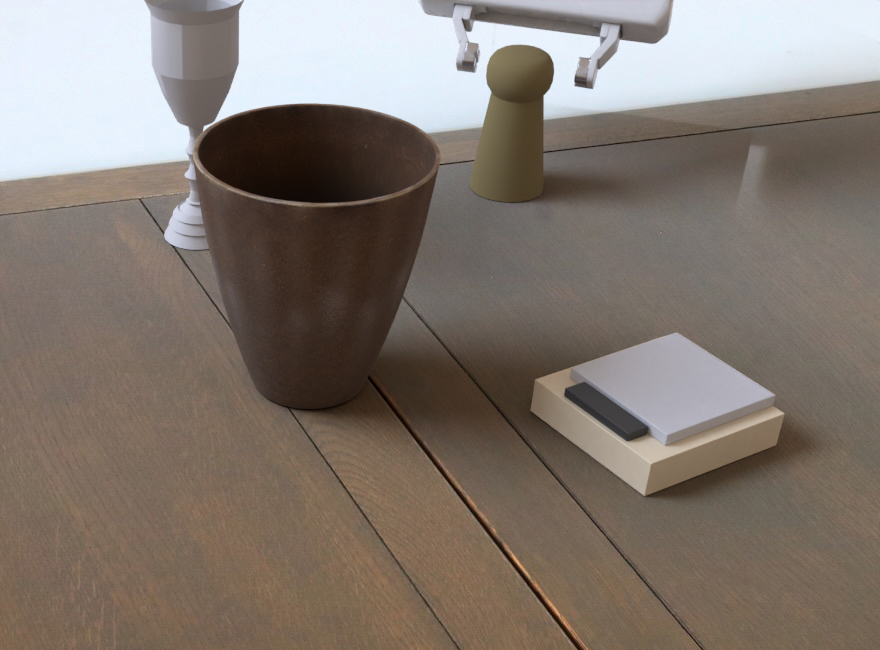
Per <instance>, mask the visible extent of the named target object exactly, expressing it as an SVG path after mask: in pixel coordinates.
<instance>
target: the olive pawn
mask: <svg viewBox="0 0 880 650" xmlns="http://www.w3.org/2000/svg"><path fill="white" fill-rule="evenodd" d="M554 63H555V62H554V61H553V59H552V57H551V55H550V53H548V52H547V51H546V50H544V49H542V48H541V47H537V46H534V45H529V44H510V45H505V46H503V47H500V48H498V49H496V50H495V51H494V52H493V53H492V55H491V56H490V57H489V59H488V62H487V65H486V73H485V79H486V85H487V87H488V88H489V91H490V96H489V100H488V104H487V109H486V112H485V116H484V120H483V124H482V130H481V131H480V137H479V139H478V140H479V141H478V144H477V149H476V152H475V156H474V161H473V165H472V168H471V174H470V178H469V182H468V187H469V189H470V190H471V191H472V192H473V193H474V194H476V195H477V196H479V197H481V198H484V199H486V200H491V201H496V202H501V203H522V202H526V201H531V200H534V199H536V198H538V197H539V196H541V194H542V193H543V192H544V146H545V145H544V144H545V143H544V141H545V140H544V139H545V138H544V133H545V132H544V129H545V128H544V123H545V121H544V120H545V118H544V109H545V108H544V98H545V95H546V94H547V93H548V92H549V90H551V87H552V84H553V82H554V75H555V64H554Z"/></svg>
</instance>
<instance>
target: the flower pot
mask: <svg viewBox="0 0 880 650" xmlns="http://www.w3.org/2000/svg"><path fill="white" fill-rule="evenodd" d="M192 153H193V161H194V168H195V175H196V182H197V189H198V195H199V201H200V207H201V213H202V219H203V224H204V229H205V233H206V238H207V243H208V247H209V249H208V251H209V255H210V259H211V264H212V268H213V271H214V275H215V279H216V282H217V285H218V290H219V293H220V296H221V300H222V304H223V307H224V310H225V313H226V316H227V318H228V319H227V320H228V322H229V324H230V329H231V330H232V334H233V336H234V339H235V342H236V344H237V347H238V349H239V352H240V355H241V357H242V360H243V362H244V365H245V368H246V369H247V371H248V372H247V373H248V374H249V376H250V378H251V381H252V383H253V384H254V387H255V389H256V391H258V392H259V394H260V395H262V396H263V397H265V398H266V399H267V400H269V401H271V402H273V403H276V404H279V405H281V406H284V407H289V408H295V409H302V410H303V409H305V410H316V409H317V410H318V409H319V410H321V409H326V408H332V407H334V406H339V405H342V404H344V403H346V402H349V401H350V400H352V399H354V398H355V397H356V396H357V395H358V394H360V392H361V391H362V389H363V387H364V385H365V383H366V382H367V381H368V378H369V376H370V374H371V372H372V370H373V367H374V366H375V364H376V361H377V359H378V357H379V355H380V354H381V351H382V349H383V346H384V344H385V342H386V340H387V337H388V335H389V333H390V330H391V328H392V327H393V326H392V325H393V323H394V321H395V318H396V316H397V313H398V311H399V308H400V305H401V303H402V299H403V297H404V294H405V292H406V289H407V286H408V283H409V280H410V277H411V274H412V271H413V268H414V265H415V262H416V259H417V257H418V252H419V249H420V245H421V242H422V238H423V235H424V231H425V227H426V224H427V220H428V216H429V211H430V208H431V203H432V199H433V193H434V191H435V190H434V189H435V185H436V181H437V177H438V172H439V168H440V164H441V151H440V149H439V146H438V144H437V143H436V142H435V140H434V138H433V137H431V136H430V135H429V134H428V133H427V132H426V131H424V130H423V129H421V128H420V127H418V126H416V125H414V124H413V123H411V122H409V121H407V120H404V119H402V118H399V117H397V116H394V115H392V114H388V113H385V112H381V111H377V110H373V109H369V108H364V107H358V106H352V105H345V104H335V103H318V102H317V103H315V102H314V103H312V102H311V103H287V104H285V103H284V104H277V105H269V106H262V107H258V108H253V109H252V108H251V109H248V110H244V111H241V112H237V113H234V114H231V115H229V116H227V117H225V118H222V119H220V120H218V121H216V122H215V123H214V122H213V123H212V124H210V125H209V126H208V127H207V128H206V129H203V132H202V133H201V134H200V136H199V137H198V138H197V140H196V141H195V144H194V146H193V150H192Z"/></svg>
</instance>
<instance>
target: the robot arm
mask: <svg viewBox="0 0 880 650" xmlns="http://www.w3.org/2000/svg"><path fill="white" fill-rule="evenodd" d="M674 1H675V0H417V2H418V3H419V5H420V7H421V9H422V11H423V12H424V14H426V15H427V16H434V17H441V18H447V19H448V18H449V19H452V24H453V29H454V33H455V36H456V39H457V42H458V45H459V47H458V51H457V55H456V59H455V61H456V62H455V66H456V67H455V68H456V70H457V71H458V72H465V73H472V74H473V73H477V69H478V63H479V61H480V57H481V49H480V45H479V43H477V42H471V41H469V37H468V35H467V33H471V32H473V28H474V23H475V22H479V23H487V24H495V25H504V26H511V27H519V28H526V29H532V30H533V29H534V30H541V31H548V32H557V33H564V34H572V35H581V36H589V37H594V38H595V37H596V38H599V46H598V48H597V49H596V50H595V51H594V52H593V53H592V55H591V56H590V57H583V56H579V57H578V61H577V64H576V67H577V69H576V70H575V73H574V80H573V81H574V87H577V88H583V89H587V90H593V89H594V88H595V84H596V79H597V75H598V71H599V70H601V69H602V68H603V67H604V66H605V65H606V64H607V63H608V62H609V61H610V59H611V58H612V57H614V55H615V54H617V52H618V49H619V45H620V41H627V42H633V43H642V44H649V45H656V44H657V43H659V42H660V41H661V40H663V38H665V37H666V36H667V35H668V34H669V31H670V26H671V21H672V18H673V17H672V16H673V8H674Z"/></svg>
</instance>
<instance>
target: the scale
mask: <svg viewBox="0 0 880 650" xmlns="http://www.w3.org/2000/svg"><path fill="white" fill-rule="evenodd" d="M533 384H534V386H533V390H532V396H531V397H532V398H531V402H530V412H532V413H533V415H535V416H536V417H538V418H539V419H540V420H542V421H543V422H544V423H546V424H547V425H549V426H550V427H551V428H552V429H554V430H555V431H557V432H558V433H559V434H560V435H562V436H563V437H564V438H566V439H567V440H568V441H570V442H571V443H572V444H574V445H575V446H576V447H578V448H579V449H580V450H582V451H583V452H585V453H586V454H587V455H588V456H590V457H591V458H592V459H594V460H595V461H597V463H599V464H601V465H602V466H603V467H605V468H606V469H607V470H609V471H610V472H611V473H613V474H614V476H616V477H618V478H619V479H620V480H622V481H623V482H625V483H626V484H627V485H628V486H630V487H631V488H632V489H634V490H635V491H636V492H637V493H639V494H641V495H642V496H643V497H647V496H649V495H651V494H654V493H657V492H660V491H662V490H664V489H668V488H670V487H672V486H674V485H678V484H680V483H682V482H685V481H687V480H690V479H692V478H695V477H698V476H701V475H703V474H706V473H708V472H711V471H713V470H716V469H719V468H721V467H724V466H727V465H729V464H731V463H735V462H736V461H739V460H742V459H744V458H747V457H749V456H753V455H755V454H757V453H760V452H763V451H765V450H768V449H770V448H773V447H775V446H777V444H778V440H779V437H780V432H781V429H782V426H783V422H784V418H785V415H786V414H785V412H783V411H782V410H780V409H778V408H777V407H775V406H774V404H775V401H776V396H777V395H776V394H775V393H773V392H772V391H770V390H769V389H767V388H765V387H764V386H762V384H761V385H760V384H759V383H757V382H756V381H755V380H753V379H751V378H750V377H748V376H747V375H745V374H743V373H742V372H740V371H738V370H737V369H735V368H734V367H733V366H731V365H729V364H728V363H726V362H724V361H723V360H721V359H720V358H718V357H717V356H715V355H713V354H712V353H711V352H709V351H707V350H706V349H704V348H703V347H701V346H700V345H698V344H697V343H695V342H693V341H691V340H690V339H688V338H687V337H686V336H684V335H682V334H681V333H679V332H678V331H677V332H673V333H670V334H667V335H664V336H663V335H662V336H660V337H657V338H654V339H651V340H648V341H645V342H642V343H639V344H637V345H633V346H630V347H627V348H624V349H621V350H617V351H615V352H612V353H609V354H607V355H604V356H603V355H602V356H601V357H598V358H595V359H592V360H588V361H585V362H583V363H580V364H577V365H574V366H571V367H568V368H564V369H561V370H559V371H556V372H553V373H550V374H547V375H544V376H541V377H538V378H535V379H534V383H533Z"/></svg>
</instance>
